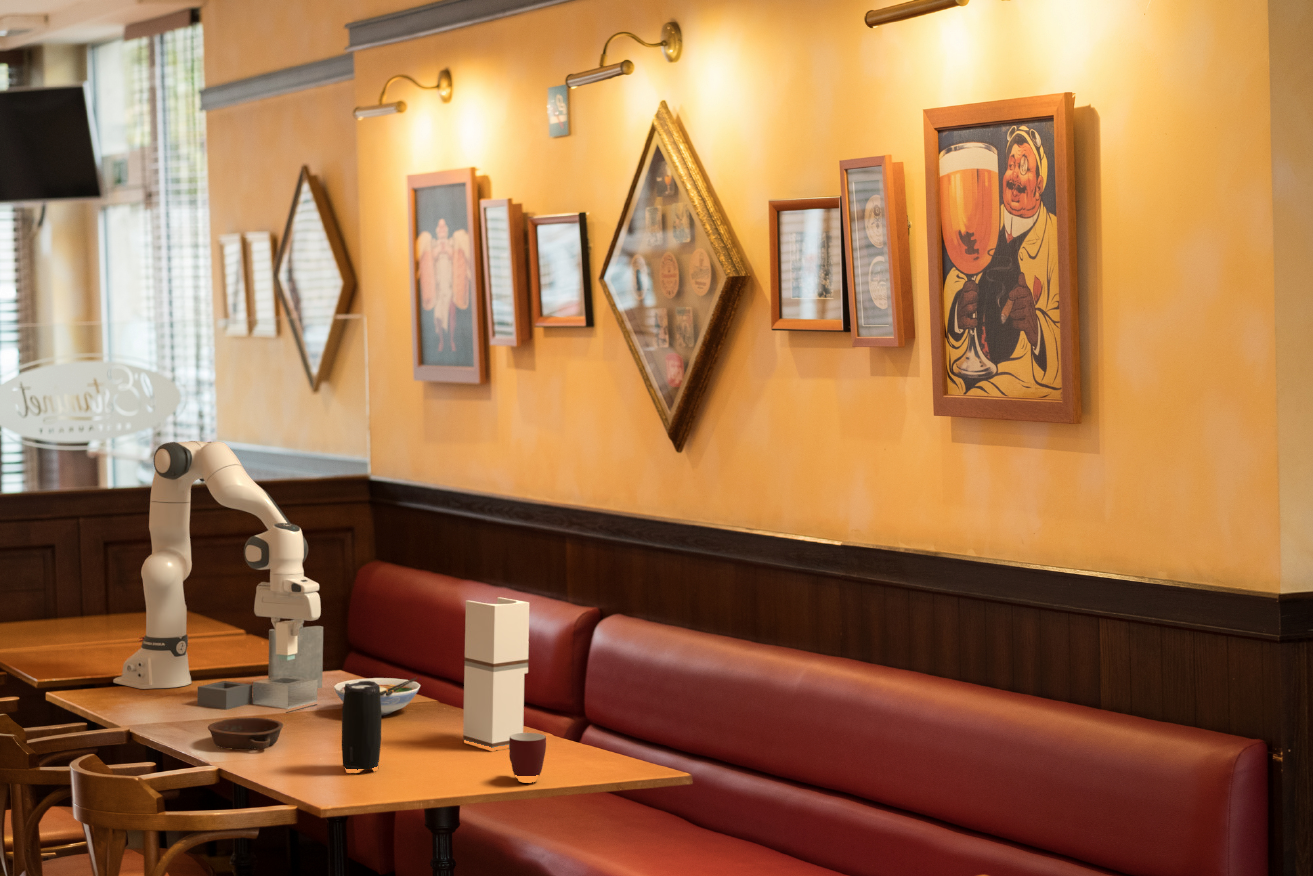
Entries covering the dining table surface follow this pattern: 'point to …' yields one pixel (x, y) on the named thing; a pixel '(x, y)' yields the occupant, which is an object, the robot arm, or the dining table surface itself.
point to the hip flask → (300, 655)
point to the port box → (285, 692)
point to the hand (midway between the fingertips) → (286, 634)
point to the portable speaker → (361, 725)
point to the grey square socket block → (224, 695)
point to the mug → (527, 753)
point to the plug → (285, 640)
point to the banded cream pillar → (495, 670)
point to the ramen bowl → (387, 692)
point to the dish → (245, 733)
